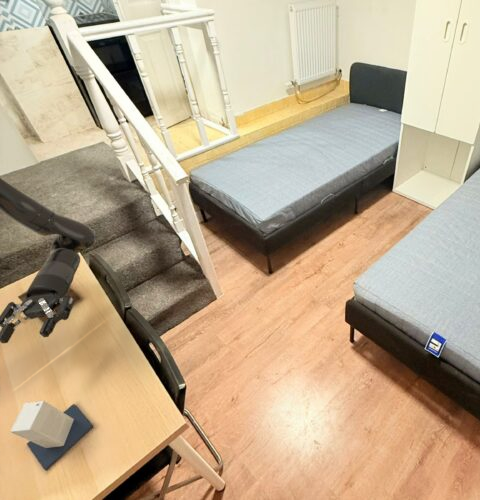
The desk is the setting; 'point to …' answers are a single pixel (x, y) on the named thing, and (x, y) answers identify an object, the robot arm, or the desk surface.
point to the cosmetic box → (42, 424)
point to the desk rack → (71, 293)
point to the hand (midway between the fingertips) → (22, 338)
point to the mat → (75, 434)
